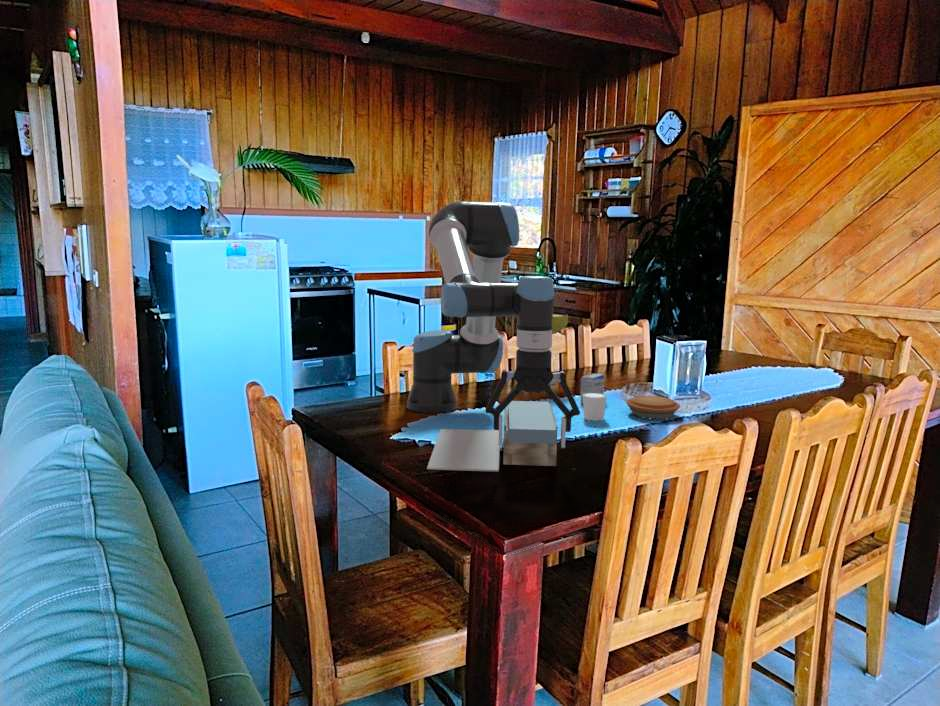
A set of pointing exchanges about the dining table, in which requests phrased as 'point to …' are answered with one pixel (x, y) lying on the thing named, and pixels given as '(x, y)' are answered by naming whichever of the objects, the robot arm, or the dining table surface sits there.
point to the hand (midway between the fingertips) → (531, 445)
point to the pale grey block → (531, 422)
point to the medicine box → (592, 384)
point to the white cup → (594, 406)
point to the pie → (652, 407)
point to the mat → (466, 450)
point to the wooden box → (528, 449)
